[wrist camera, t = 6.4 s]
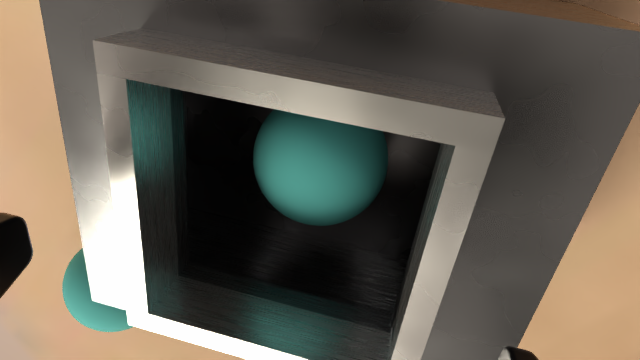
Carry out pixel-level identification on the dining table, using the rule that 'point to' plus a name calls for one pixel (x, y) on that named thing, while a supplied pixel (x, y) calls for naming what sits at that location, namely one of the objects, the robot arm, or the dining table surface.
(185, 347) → the dining table surface
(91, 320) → the bead
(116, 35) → the open metal box
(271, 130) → the bead
